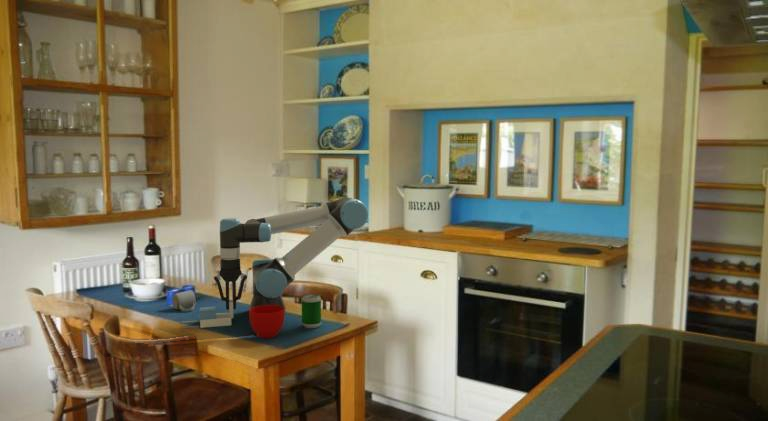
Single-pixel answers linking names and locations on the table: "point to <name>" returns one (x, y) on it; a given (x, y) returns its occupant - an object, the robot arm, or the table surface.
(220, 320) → the chute
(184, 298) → the ceramic mug
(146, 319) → the table surface
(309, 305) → the soda can
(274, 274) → the robot arm
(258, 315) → the ceramic cup
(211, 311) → the block
